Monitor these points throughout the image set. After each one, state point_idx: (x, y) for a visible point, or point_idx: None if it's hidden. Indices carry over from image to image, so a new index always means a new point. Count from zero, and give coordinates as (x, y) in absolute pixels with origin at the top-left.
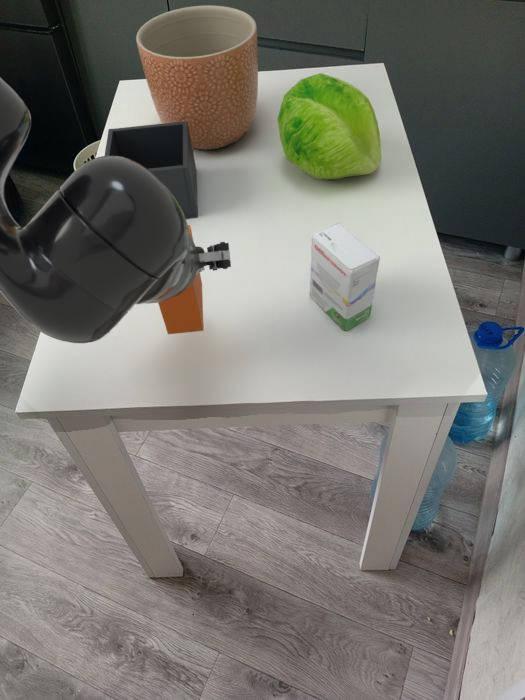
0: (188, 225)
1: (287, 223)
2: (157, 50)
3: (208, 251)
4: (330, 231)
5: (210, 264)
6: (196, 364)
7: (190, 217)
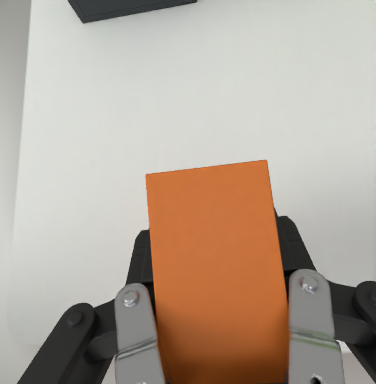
0: (262, 163)
1: (341, 9)
2: None
3: (370, 327)
4: None
5: (359, 346)
6: None
7: (185, 3)
